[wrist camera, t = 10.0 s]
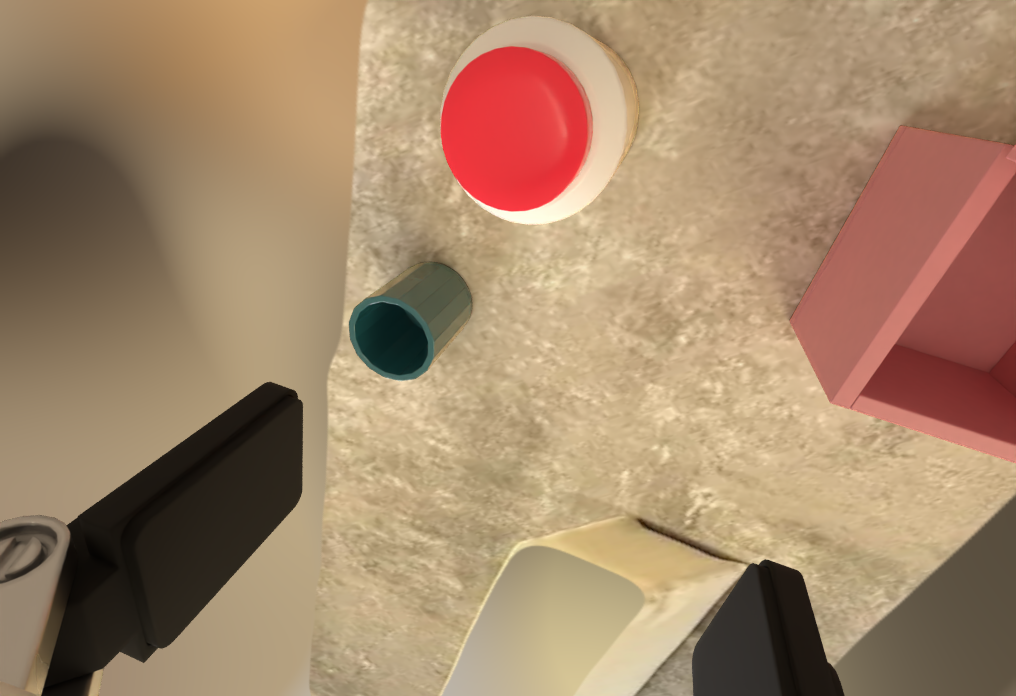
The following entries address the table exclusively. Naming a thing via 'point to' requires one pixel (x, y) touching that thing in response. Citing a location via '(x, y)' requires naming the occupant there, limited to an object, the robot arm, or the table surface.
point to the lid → (1012, 154)
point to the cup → (410, 320)
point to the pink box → (924, 294)
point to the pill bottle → (537, 119)
